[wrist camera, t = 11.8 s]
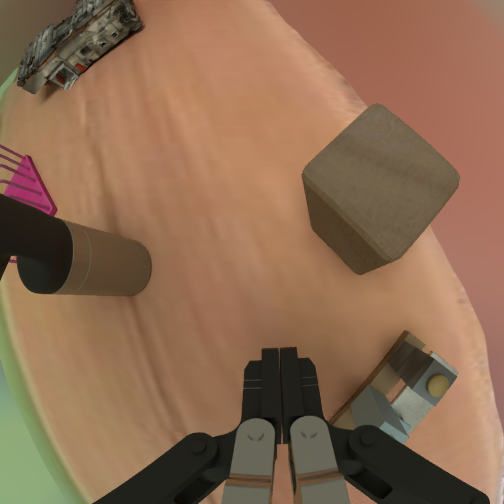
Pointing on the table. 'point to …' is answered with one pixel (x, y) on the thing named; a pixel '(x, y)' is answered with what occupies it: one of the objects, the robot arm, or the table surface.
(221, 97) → the table surface
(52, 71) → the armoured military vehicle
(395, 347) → the dark grey l-shaped piece
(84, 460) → the table surface
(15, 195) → the file sorter
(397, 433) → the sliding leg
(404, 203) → the block
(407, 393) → the grey flat plate
